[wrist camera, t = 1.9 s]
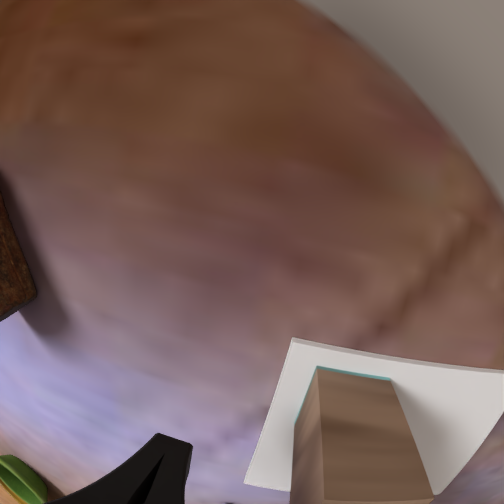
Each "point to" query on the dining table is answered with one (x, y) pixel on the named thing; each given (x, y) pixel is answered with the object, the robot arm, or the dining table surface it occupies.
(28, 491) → the tableware set
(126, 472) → the robot arm
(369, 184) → the dining table surface
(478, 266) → the dining table surface
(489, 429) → the white mat
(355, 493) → the walnut block
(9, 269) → the brick
